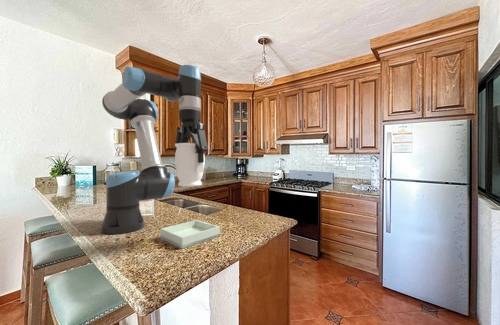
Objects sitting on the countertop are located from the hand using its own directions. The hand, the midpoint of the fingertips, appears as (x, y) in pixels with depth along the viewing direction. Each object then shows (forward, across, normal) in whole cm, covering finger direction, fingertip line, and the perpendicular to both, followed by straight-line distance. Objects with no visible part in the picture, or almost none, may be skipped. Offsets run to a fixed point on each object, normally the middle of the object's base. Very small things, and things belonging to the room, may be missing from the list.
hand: (190, 171), depth 78 cm
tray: (+24, 0, 0) cm, 24 cm away
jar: (+5, 0, 0) cm, 5 cm away
